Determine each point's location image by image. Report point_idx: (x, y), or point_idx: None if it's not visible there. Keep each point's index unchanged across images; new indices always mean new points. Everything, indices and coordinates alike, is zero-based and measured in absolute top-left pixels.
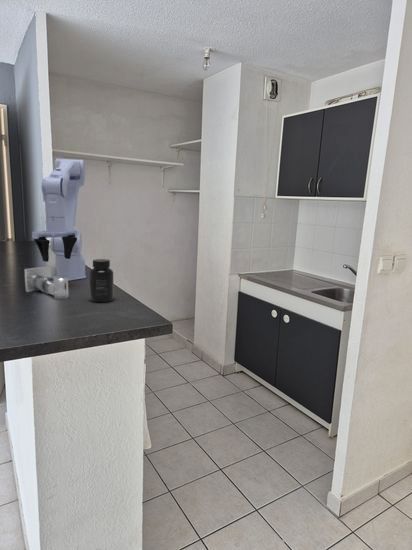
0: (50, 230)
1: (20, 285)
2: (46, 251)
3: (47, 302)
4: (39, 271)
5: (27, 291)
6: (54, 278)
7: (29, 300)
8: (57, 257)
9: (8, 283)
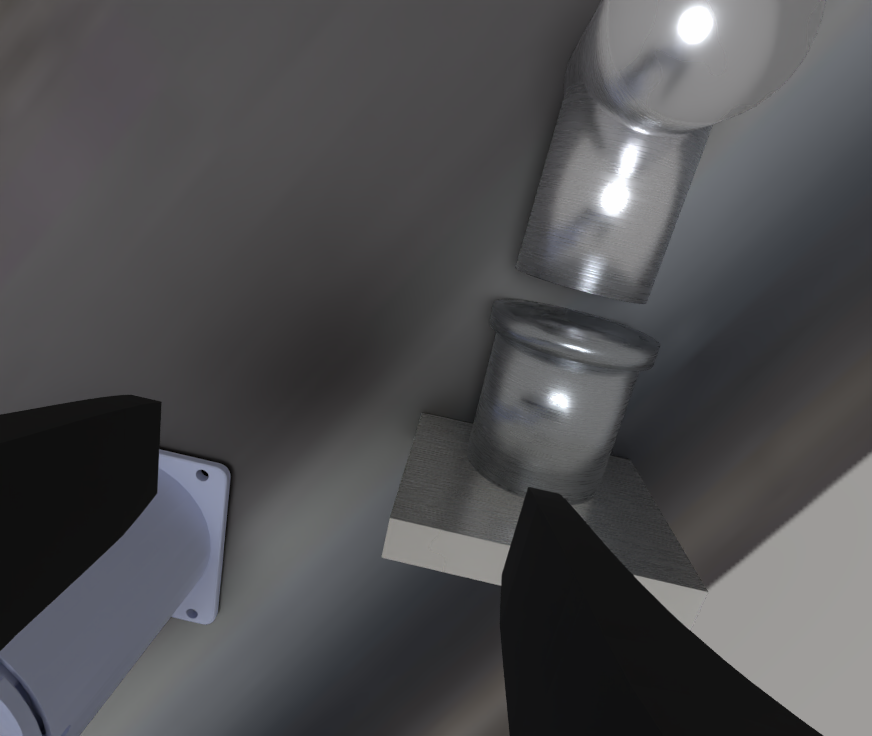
0: None
1: None
2: (635, 599)
3: (834, 54)
4: None
5: (629, 463)
6: (790, 57)
7: (842, 248)
8: (74, 722)
9: None
